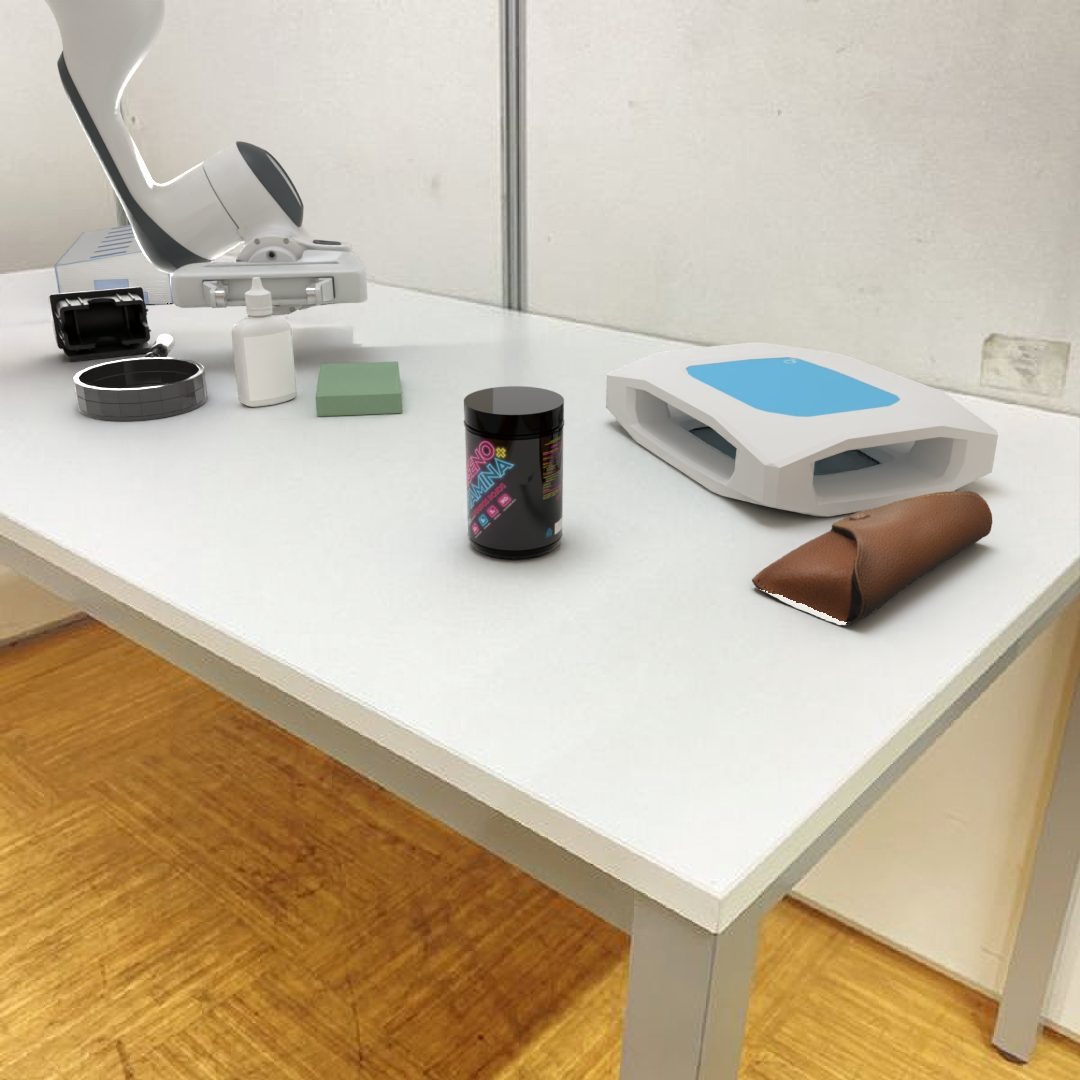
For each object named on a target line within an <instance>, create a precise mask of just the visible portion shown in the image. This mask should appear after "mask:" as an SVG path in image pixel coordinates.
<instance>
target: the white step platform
mask: <svg viewBox="0 0 1080 1080" xmlns="http://www.w3.org/2000/svg"><path fill="white" fill-rule="evenodd" d="M605 389H606V391H605V392H606V393H605V408H606V409H607V410H608V412H609V413H610V414H611V415H612V416H613V417H614V419H616V421H617V422H618V423H619V424H620V426H622V428H623V429H624V430H625V432H627V433H628V434H629V435H630V437H631V438H632V439H633V440H634V441H635V442H636V443H637V444H639V445H640V446H642V447H644V448H645V449H646V450H648V451H649V452H651V453H652V454H654V455H656V456H657V457H658V458H660V459H662V460H663V461H665V462H666V463H668V464H669V465H671V466H672V467H673V468H675V469H677V470H678V471H680V472H682V473H683V474H685V475H686V476H688V477H689V478H691V479H692V480H694V481H695V482H697V483H699V484H700V485H701V486H702V487H704V488H706V489H708V490H709V491H710V492H713V493H715V494H717V495H719V496H722V497H726V498H730V499H734V500H738V501H743V502H746V503H750V504H754V505H759V506H764V507H769V508H773V509H777V510H783V511H786V512H787V511H788V512H793V513H798V514H802V515H809V516H814V517H834V516H839V515H845V514H851V513H857V512H860V511H864V510H867V509H872V508H876V507H879V506H883V505H886V504H889V503H892V502H895V501H899V500H903V499H907V498H911V497H916V496H920V495H926V494H931V493H938V492H950V491H957V490H959V489H960V488H962V487H964V486H966V485H969V484H971V483H973V482H975V481H977V480H978V479H981V478H983V477H985V476H987V475H989V474H991V473H993V468H994V461H995V455H996V449H997V444H998V437H999V434H998V430H997V429H995V428H994V427H993V426H991V425H990V424H988V423H987V422H986V421H984V420H983V419H981V418H980V417H979V416H978V415H976V414H974V413H973V412H972V411H971V410H969V409H968V408H967V407H965V406H964V405H962V404H961V403H960V402H958V401H957V400H955V399H954V398H952V397H951V396H950V395H949V394H948V393H946V392H944V391H942V390H939V389H936V388H934V387H932V386H929V385H927V384H924V383H921V382H918V381H916V380H913V379H911V378H908V377H906V376H903V375H900V374H898V373H895V372H892V371H889V370H887V369H884V368H881V367H878V366H876V365H874V364H870V363H868V362H866V361H863V360H860V359H858V358H854V357H852V356H849V355H846V354H843V353H839V352H833V351H827V350H821V349H820V350H818V349H813V348H806V347H805V348H804V347H798V346H791V345H783V344H777V343H770V342H763V341H762V342H761V341H754V342H753V341H752V342H742V343H732V344H731V343H730V344H720V345H712V346H700V347H693V348H682V349H672V350H663V351H655V352H653V353H650V354H648V355H646V356H643V357H640V358H638V359H636V360H633V361H631V362H628V363H626V364H624V365H622V366H619V367H617V368H615V369H612V370H609V371H608V373H607V374H606V388H605ZM707 427H709V428H711V429H712V430H714V431H715V432H716V433H717V434H719V436H721V437H722V438H723V439H724V440H726V441H727V442H728V443H729V444H731V445H732V446H733V447H734V448H735V449H736V451H735V458H733V457H731V456H730V455H727V454H726V453H725V452H723V451H721V450H720V449H718V448H716V447H714V446H713V445H711V444H709V443H708V442H706V441H704V440H703V439H701V438H699V437H698V436H696V435H695V434H693V432H690V431H691V430H694V429H699V428H700V429H701V428H707ZM854 450H858V451H860V452H862V453H863V454H865V455H866V456H868V457H870V458H871V459H873V460H875V461H876V462H878V463H879V464H878V463H877V464H875V465H871V466H868V467H867V466H866V467H864V468H859V469H853V470H846V471H840V472H834V473H828V474H818V475H817V474H816V475H814V474H815V473H814V472H815V464H816V462H819V461H821V460H824V459H826V458H830V457H832V456H836V455H839V454H841V453H844V452H847V451H848V452H849V451H854Z"/></svg>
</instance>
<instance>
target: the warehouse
mask: <svg viewBox="0 0 1080 1080" xmlns="http://www.w3.org/2000/svg"><path fill="white" fill-rule="evenodd" d="M53 267H54V275H55V279H56V285H57V290H58V291H57V292H58V294H59V293H71V292H83V291H94V290H106V289H118V288H130V287H141V288H142V289H143V294H144V301H145V304H155V305H171V304H170V303H173V304H172V305H174V302H173V297H172V291H171V282H170V276H171V274H170V273H166V272H163V271H160V270H158V269H156V268H155V267H154V265H153V264H152V263H151V262H150V261H149V260H148V259H147V257H146V256H145V255H144V253H143V252H142V250H141V248H140V246H139V244H138V242H137V240H136V237H135V235H134V232H133V229H132V226H131V224H126V225H121V226H114V227H107V228H103V229H96V230H95V229H94V230H90V231H84V232H82V233H81V234H80V236H79V237H78V238H77V239H76V240H75V241H74V242H73V243H72V244H71V245H70V247H69V248H68V249H67V250H66V251H65V252H64V254H63V255H62V256H61V257H60V258H59V259H58V260H57V262H56V263H55V264H54V265H53ZM167 303H168V304H167Z"/></svg>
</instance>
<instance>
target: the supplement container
mask: <svg viewBox="0 0 1080 1080" xmlns="http://www.w3.org/2000/svg"><path fill="white" fill-rule="evenodd" d="M463 426H464V438H465V439H464V442H465V443H464V444H465V448H464V449H465V480H466V518H467V519H466V520H467V538H468V539H469V542H470V544H471V546H472V547H474V549H476V550H477V551H478V552H479V553H480V554H483V555H485V556H488V557H490V558H491V557H492V558H496V559H502V560H527V559H528V560H529V559H534V558H539V557H542V556H544V555H546V554H549V553H550V552H552V551H553V550H554V549H556V547H558V545H559V544H560V542H561V540H562V538H563V522H564V521H563V520H564V519H563V517H564V516H563V515H564V514H563V513H564V512H563V511H564V509H563V508H564V507H563V506H564V505H563V504H564V497H563V495H564V491H563V490H564V426H565V398H564V396H563V395H561V394H560V393H558V392H555V391H553V390H551V389H546V388H541V387H535V386H524V385H523V386H522V385H521V386H520V385H519V386H517V385H511V386H510V385H507V386H495V387H489V388H483V389H479V390H476V391H473V392H471V393H469V394H467V395H466V396H465V397H464V398H463Z"/></svg>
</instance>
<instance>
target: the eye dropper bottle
mask: <svg viewBox="0 0 1080 1080" xmlns="http://www.w3.org/2000/svg"><path fill="white" fill-rule="evenodd" d="M245 302H246V306H245V311H246V312H245V313H246V315H247V316H246V317H244V318H242V319H240V320H239V321H237V322H236V323H235V324H234V325H233V326H232V328H231V342H232V343H231V344H232V353H233V361H234V370H235V381H236V389H237V398H238V401H239V403H241V404H243V405H244V406H247V407H251V408H258V407H267V406H273V405H277V404H282V403H285V402H288V401H290V400H293V399H295V398H296V397H297V394H298V390H297V389H298V388H297V378H296V367H295V356H294V345H293V335H292V328H291V324H290V323H289V321H288V320H287V319H286V318H284V317H282V316H280V315H272V314H271V313H273V311H272V300H271V292H270V291H267V290H265V289H264V288H263V286H262V283H261V279H260V277H254V278H252V288H251V289H250V290H249V291H248V292H246V293H245Z"/></svg>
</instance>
